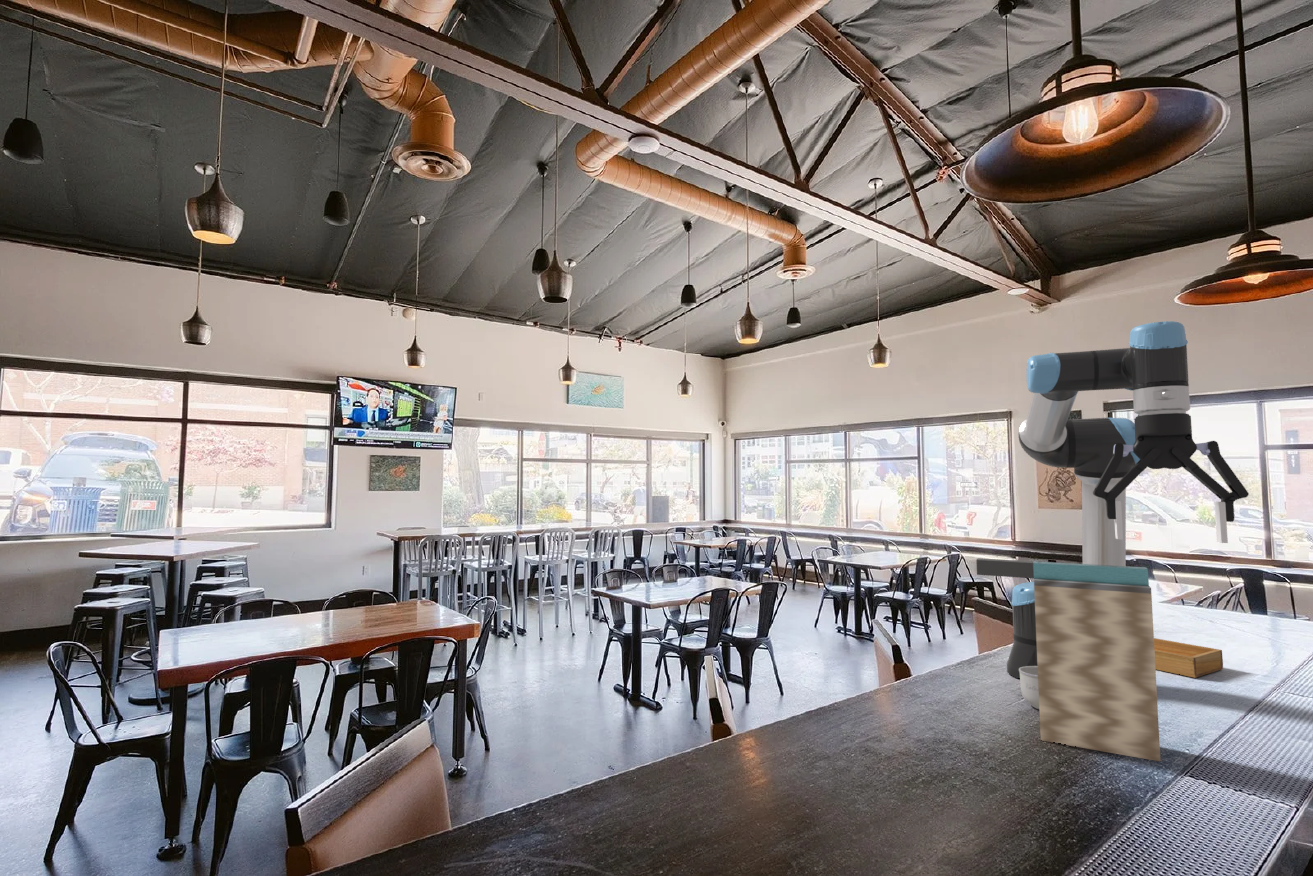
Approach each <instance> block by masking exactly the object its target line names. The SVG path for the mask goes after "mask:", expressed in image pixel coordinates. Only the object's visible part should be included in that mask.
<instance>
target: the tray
mask: <svg viewBox="0 0 1313 876" xmlns="http://www.w3.org/2000/svg"><path fill="white" fill-rule="evenodd" d="M1154 650H1155V668H1156V670H1157V671H1161V672H1165V673H1171V674H1176V675H1179V674H1180V675H1181V676H1185V677H1189V678H1194V679H1195V678H1199V677H1202V676H1205V675H1208V674H1209V675H1210V674H1211V673H1214V672H1218V671H1221V670H1223V669H1224V660H1223V650H1222V649H1218V648H1213V647H1208V646H1202V645H1197V644H1189V643H1185V642H1178V641H1173V640H1166V639H1162V638H1161V639H1160V638H1155V637H1154Z"/></svg>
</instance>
